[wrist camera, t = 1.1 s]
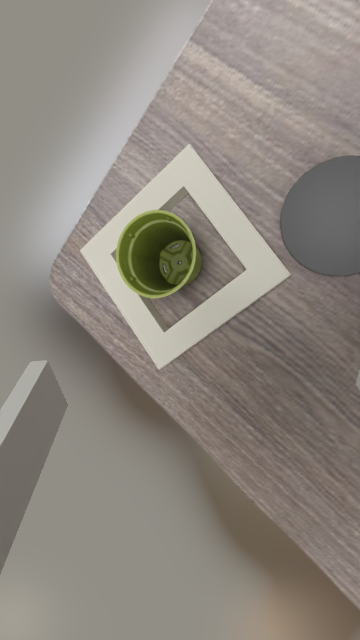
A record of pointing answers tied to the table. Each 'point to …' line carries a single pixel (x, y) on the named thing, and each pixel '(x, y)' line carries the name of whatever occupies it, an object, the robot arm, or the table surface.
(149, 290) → the plant pot
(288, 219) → the mat
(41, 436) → the robot arm
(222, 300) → the well board
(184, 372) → the table surface
